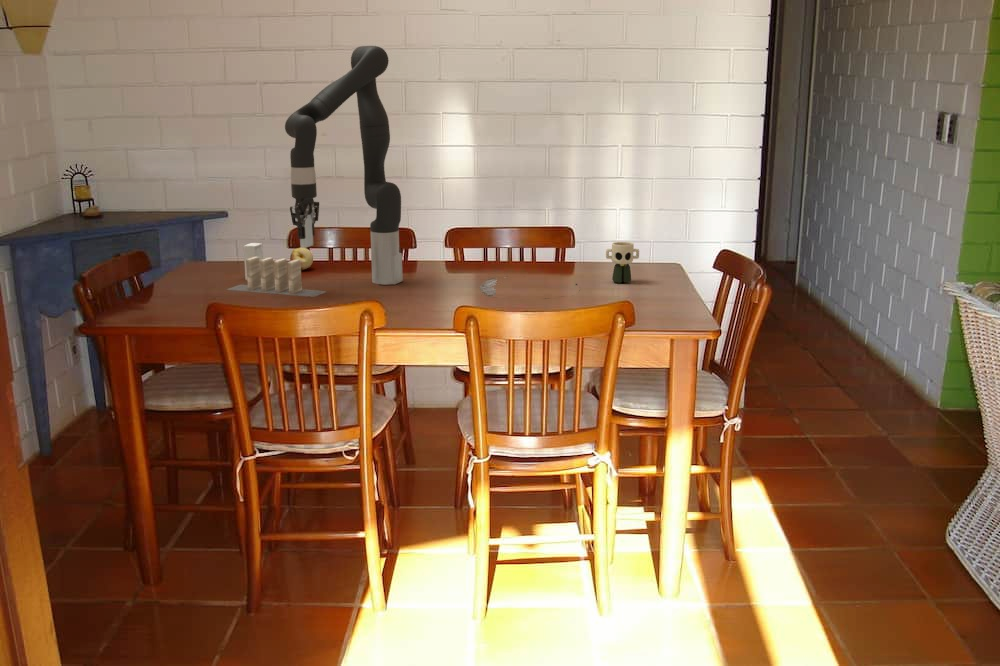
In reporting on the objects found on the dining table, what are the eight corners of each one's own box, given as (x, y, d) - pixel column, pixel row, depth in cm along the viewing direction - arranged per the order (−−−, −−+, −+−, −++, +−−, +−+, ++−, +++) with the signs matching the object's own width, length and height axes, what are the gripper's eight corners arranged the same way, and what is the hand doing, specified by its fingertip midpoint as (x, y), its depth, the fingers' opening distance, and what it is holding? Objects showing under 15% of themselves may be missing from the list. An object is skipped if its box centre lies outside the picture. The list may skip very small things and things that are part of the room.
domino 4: (302, 290, 304) (300, 259, 301) (293, 293, 300) (291, 262, 297) (297, 290, 305) (295, 259, 302) (289, 293, 300) (287, 262, 297)
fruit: (286, 271, 335) (285, 248, 333) (300, 267, 343) (298, 245, 341) (305, 273, 332) (303, 250, 330) (318, 268, 340) (317, 246, 338)
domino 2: (274, 288, 307) (272, 257, 305) (266, 291, 303) (264, 260, 300) (270, 288, 308) (268, 257, 305) (261, 291, 303) (259, 260, 301)
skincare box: (257, 281, 319) (254, 246, 316) (245, 281, 320) (242, 245, 317) (264, 277, 325) (262, 243, 322) (253, 277, 326) (250, 242, 323)
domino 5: (313, 245, 298) (311, 213, 296) (305, 247, 294) (303, 215, 291) (308, 244, 299) (307, 212, 296) (300, 247, 294) (298, 215, 292)
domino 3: (288, 289, 306) (286, 258, 303) (279, 292, 301) (277, 261, 298) (283, 289, 306) (281, 258, 304) (275, 292, 302) (273, 261, 299)
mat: (327, 292, 303) (327, 291, 303) (314, 298, 296) (314, 296, 296) (240, 285, 313) (240, 284, 313) (226, 290, 306) (226, 289, 306)
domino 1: (261, 287, 309) (259, 256, 306) (252, 290, 304) (250, 259, 302) (256, 286, 309) (254, 256, 307) (248, 290, 305) (245, 259, 302)
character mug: (606, 284, 314) (607, 245, 310) (604, 280, 320) (605, 241, 317) (639, 284, 313) (640, 245, 310) (636, 280, 320) (638, 241, 317)
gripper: (302, 184, 284) (305, 241, 288) (326, 179, 297) (328, 234, 301) (280, 184, 286) (283, 240, 290) (304, 179, 299) (307, 233, 303)
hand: (306, 237), depth 296 cm, fingers closed on domino 5, 5 cm apart
